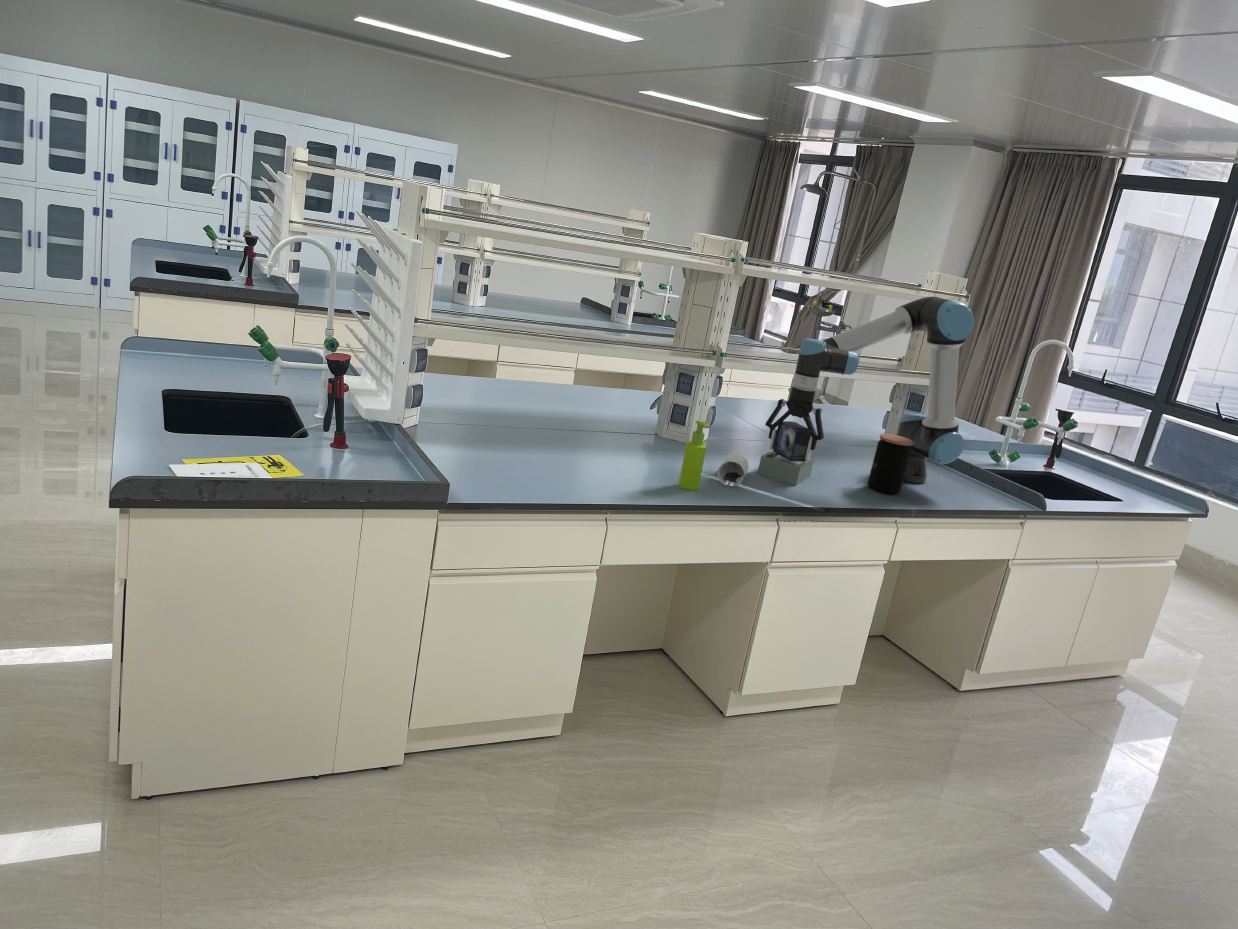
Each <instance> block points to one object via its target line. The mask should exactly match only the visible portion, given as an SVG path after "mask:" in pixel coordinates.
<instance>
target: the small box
mask: <svg viewBox="0 0 1238 929" xmlns="http://www.w3.org/2000/svg"><path fill="white" fill-rule="evenodd" d="M776 429H777V434H776V438H775V443H774V448H773V449H772V450H773V451H774V452H775V453H777V454H779V455H781V456H782V457H784V458H786V459H787V460H789V461H803V462H805V461H806V459H805V457H806V453H807V448H808V444H809V440H810V439H811V438H812V437H811V435H810V433H811V430H808V427H807V426H803V425H802V424H800V423H799V422H796V421H787V420H784V421H783V422H781V423H780V424H779V425H778V426H777V428H776Z"/></svg>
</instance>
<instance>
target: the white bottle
mask: <svg viewBox="0 0 1238 929" xmlns="http://www.w3.org/2000/svg"><path fill="white" fill-rule="evenodd" d="M748 470H749V462H748V459H747V458H746V456H744V455H743V454H741V453H739V452H733V453H731V454H729V455H728V456H727V457H726V458H725V460H724V462H723V463H721V465H720V466H719V467H718V470H716V472H717V478H718V481H720V483H721V484H722V485H723V486H725V483H726V480H727V479H725V477H726V474H730V473H736V474H738V476H739V477H738V476H737V478H736V480H735V481H733V483H734V484H733V486H732V487H736V486H739V485H741V484H742V482H743V481H744V479H745V476H746V474H747V472H748Z"/></svg>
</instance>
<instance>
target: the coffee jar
mask: <svg viewBox="0 0 1238 929" xmlns="http://www.w3.org/2000/svg"><path fill="white" fill-rule="evenodd" d="M879 439H880V440H878V442H877V445H876V449H875V454H874V457H873V460H872V465H871V469H870V474H869V476H868V480H867V485H868V489H870V490H871V489H872V490H871V491H874V492H876V493H879V494H883V495H888V496H896V495H898V494H899V493H900V492H902V491H901V490H902V486H903V482H904V481H903V479H904V476H905V472H906V468H907V464H908V461H909V457H910V453H911V448H910V447H911V445H913V441H912V440H910V439H908V438H905V437H901V436H898V435H897V434H894V433H893V434H892V433H891V434H890V433H880V434H879Z"/></svg>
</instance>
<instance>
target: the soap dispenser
mask: <svg viewBox="0 0 1238 929" xmlns="http://www.w3.org/2000/svg"><path fill="white" fill-rule="evenodd" d="M695 423H696V424H697V426H696V430H694V431H692V436H691V441H687V442H686V445H685V448H684V454H683V458H682V459H683V460H682V466H681V470H680V475H679V480H678V487H679V488H680V489H682V490H683V489H684V490H687V491H697V490H699V486H700V480H701V477H702V471H703V468H704V467H703V465H704V462H705V456H706V453H707V452H706V451H707V445H706V444H704V440H705V439H704V438H705V433H704V432H703V428H704V429H710V428H711V427H710V425H709V424H708V423H707V422H705V421H702V420H695Z"/></svg>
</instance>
